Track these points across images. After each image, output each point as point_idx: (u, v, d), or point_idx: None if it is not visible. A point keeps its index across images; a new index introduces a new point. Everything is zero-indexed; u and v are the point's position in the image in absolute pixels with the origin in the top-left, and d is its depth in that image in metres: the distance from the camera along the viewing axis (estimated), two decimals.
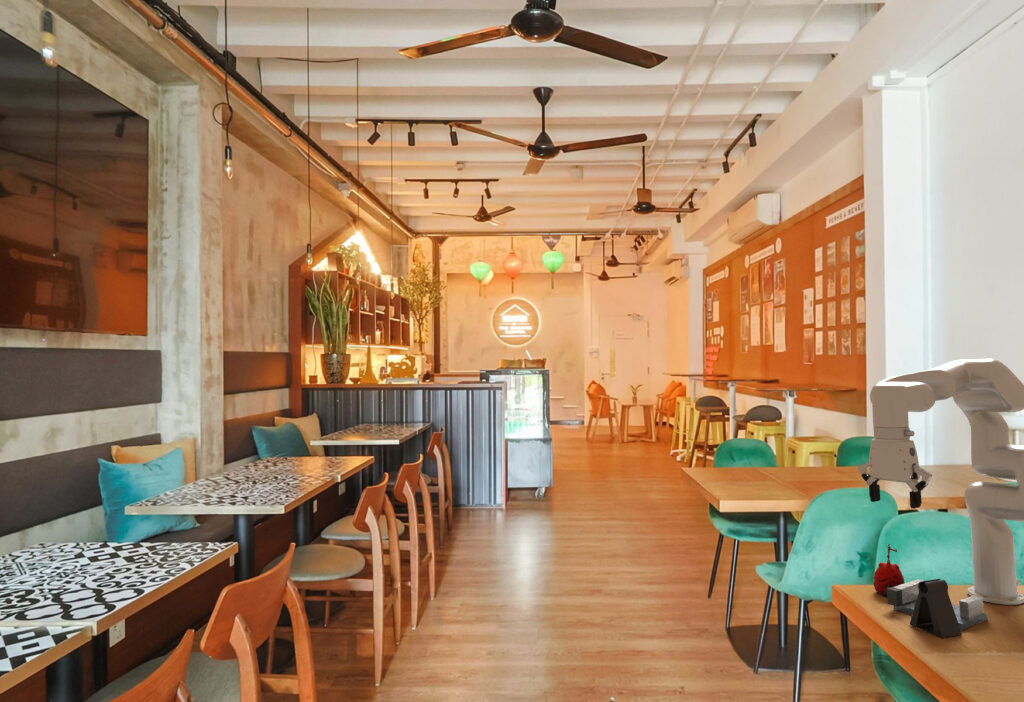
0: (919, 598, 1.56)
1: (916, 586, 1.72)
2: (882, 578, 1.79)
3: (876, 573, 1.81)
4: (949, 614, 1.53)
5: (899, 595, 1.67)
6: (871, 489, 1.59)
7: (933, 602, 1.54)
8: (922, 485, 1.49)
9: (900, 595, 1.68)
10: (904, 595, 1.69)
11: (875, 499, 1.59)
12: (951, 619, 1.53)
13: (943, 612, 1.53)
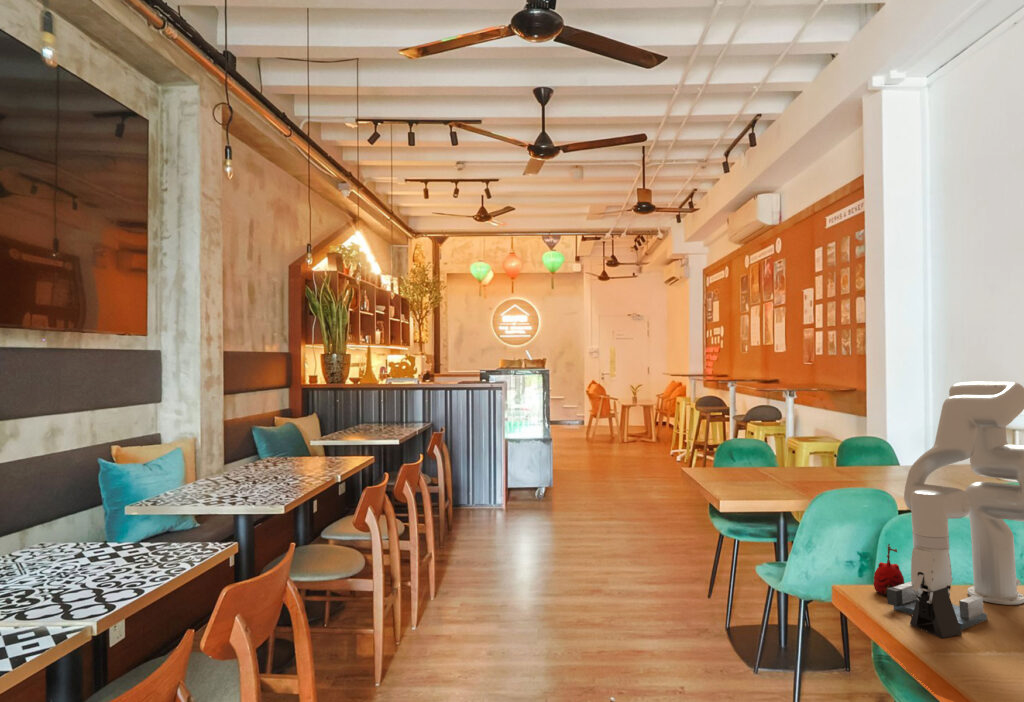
0: None
1: None
2: (882, 578, 1.79)
3: (876, 573, 1.81)
4: (949, 614, 1.53)
5: (899, 595, 1.67)
6: (933, 607, 1.53)
7: (933, 602, 1.54)
8: (949, 588, 1.58)
9: (900, 595, 1.68)
10: (904, 595, 1.69)
11: None
12: (952, 619, 1.53)
13: (943, 612, 1.53)
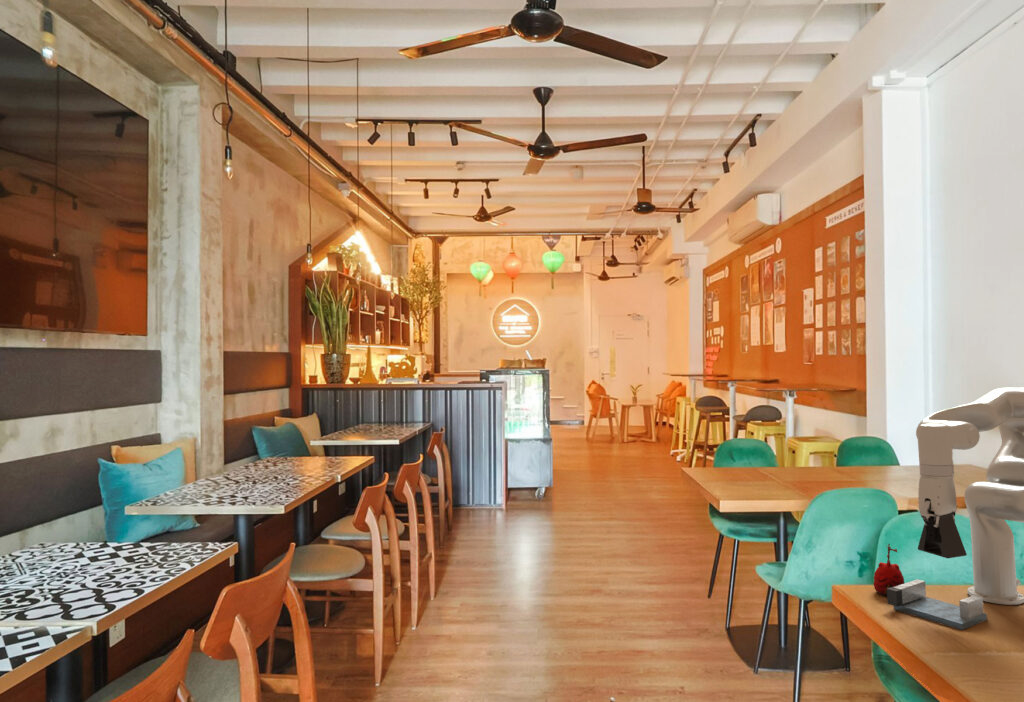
0: None
1: (916, 586, 1.72)
2: (882, 578, 1.79)
3: (876, 573, 1.81)
4: (954, 537, 1.64)
5: (899, 595, 1.67)
6: (939, 530, 1.64)
7: (939, 526, 1.64)
8: (954, 515, 1.69)
9: (900, 595, 1.68)
10: (904, 595, 1.69)
11: None
12: (957, 541, 1.64)
13: (949, 535, 1.64)
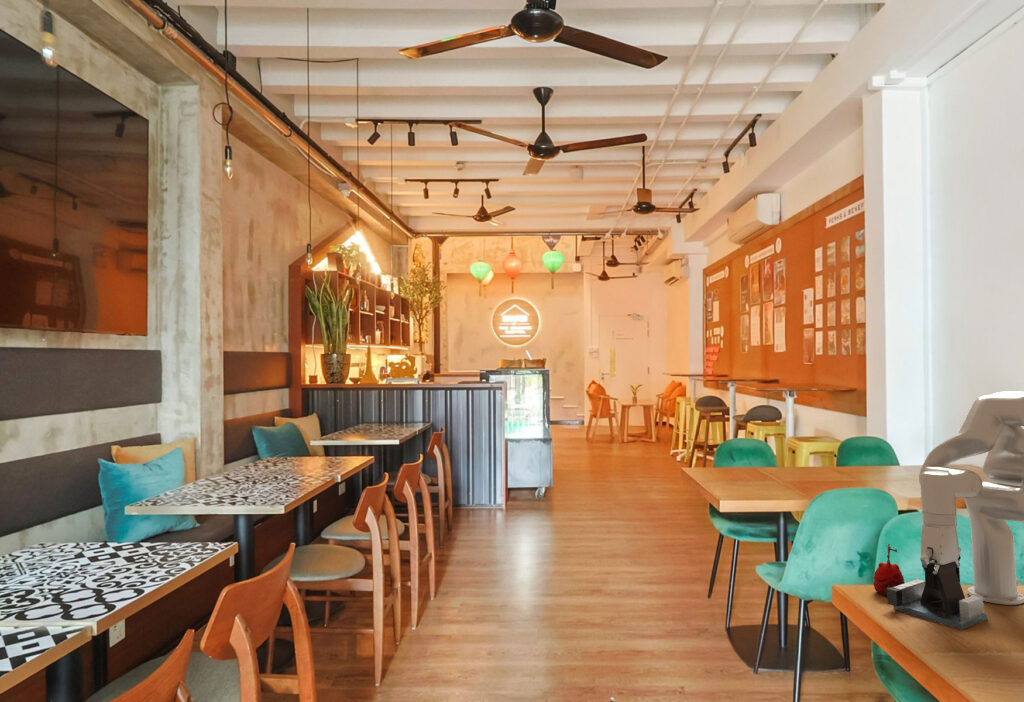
0: None
1: (916, 586, 1.72)
2: (882, 578, 1.79)
3: (876, 573, 1.81)
4: (957, 592, 1.64)
5: (899, 595, 1.67)
6: (938, 577, 1.63)
7: (943, 581, 1.64)
8: (959, 559, 1.69)
9: (900, 595, 1.68)
10: (904, 595, 1.69)
11: None
12: (960, 597, 1.63)
13: (952, 590, 1.64)
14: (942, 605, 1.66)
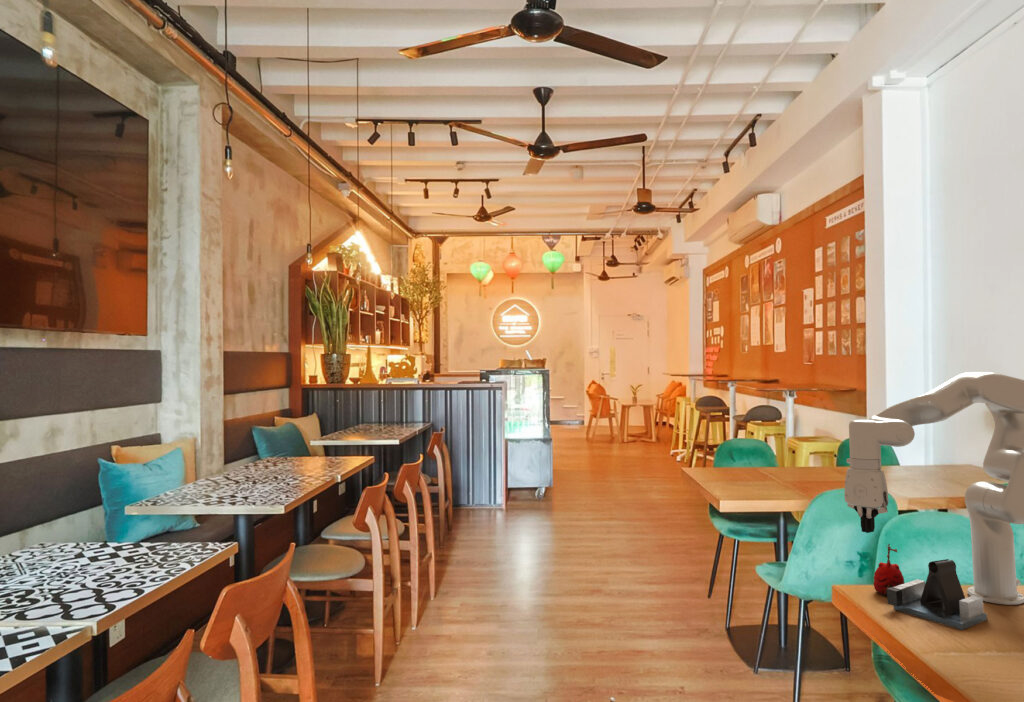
0: (929, 577, 1.67)
1: (916, 586, 1.72)
2: (882, 578, 1.79)
3: (876, 573, 1.81)
4: (957, 592, 1.64)
5: (899, 595, 1.67)
6: None
7: (943, 581, 1.64)
8: None
9: (900, 595, 1.68)
10: (904, 595, 1.69)
11: None
12: (960, 597, 1.63)
13: (952, 590, 1.64)
14: (942, 605, 1.66)
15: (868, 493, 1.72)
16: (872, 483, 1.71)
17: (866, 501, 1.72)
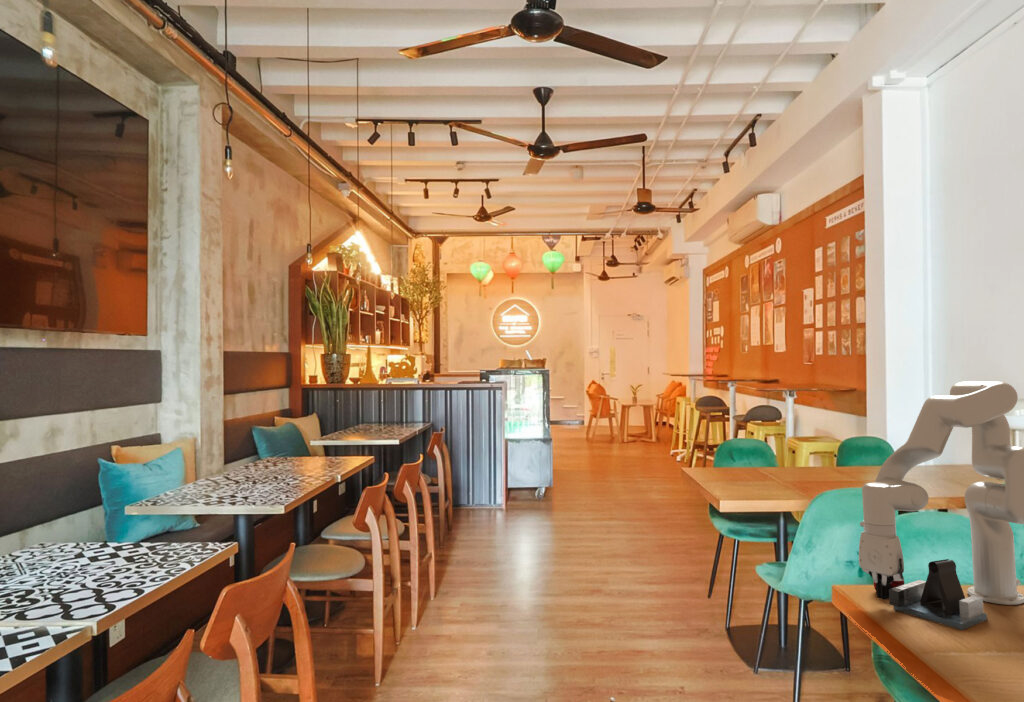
0: (929, 577, 1.67)
1: (918, 587, 1.71)
2: None
3: None
4: (957, 592, 1.64)
5: (901, 596, 1.67)
6: None
7: (943, 581, 1.64)
8: None
9: (902, 596, 1.67)
10: (906, 596, 1.68)
11: None
12: (960, 597, 1.63)
13: (952, 590, 1.64)
14: (942, 605, 1.66)
15: (883, 560, 1.68)
16: (887, 550, 1.67)
17: (881, 568, 1.69)
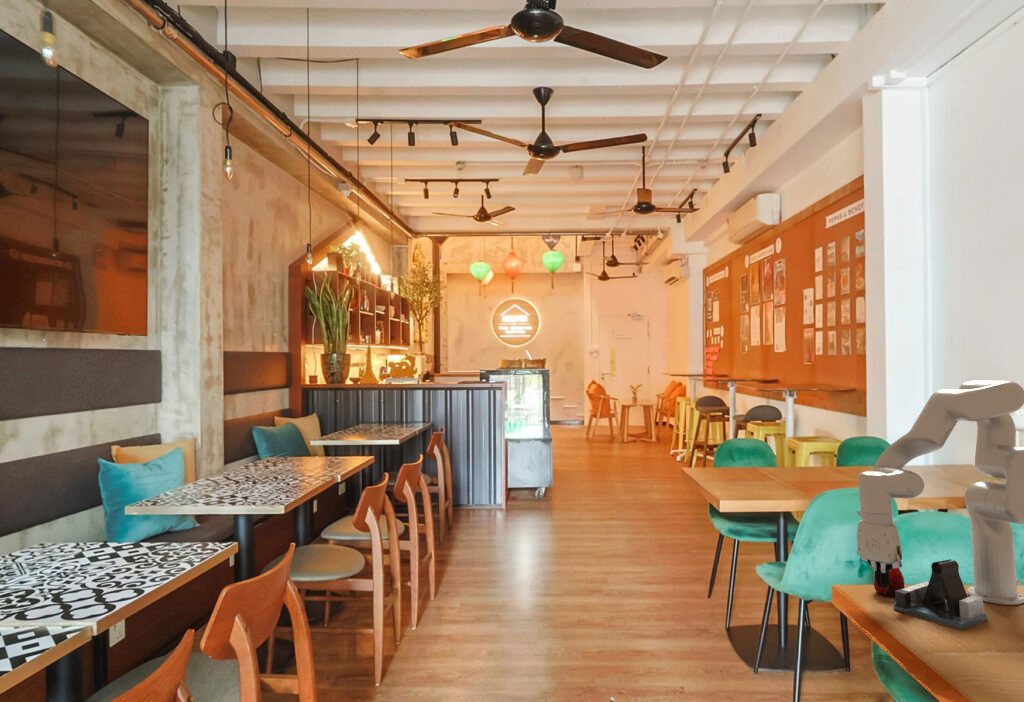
0: (932, 578, 1.66)
1: (924, 588, 1.70)
2: None
3: None
4: (960, 592, 1.63)
5: (907, 597, 1.65)
6: None
7: (946, 581, 1.63)
8: None
9: (908, 597, 1.66)
10: (913, 597, 1.67)
11: None
12: (963, 597, 1.63)
13: (955, 590, 1.63)
14: (945, 606, 1.66)
15: (881, 548, 1.69)
16: (885, 538, 1.68)
17: (879, 556, 1.69)
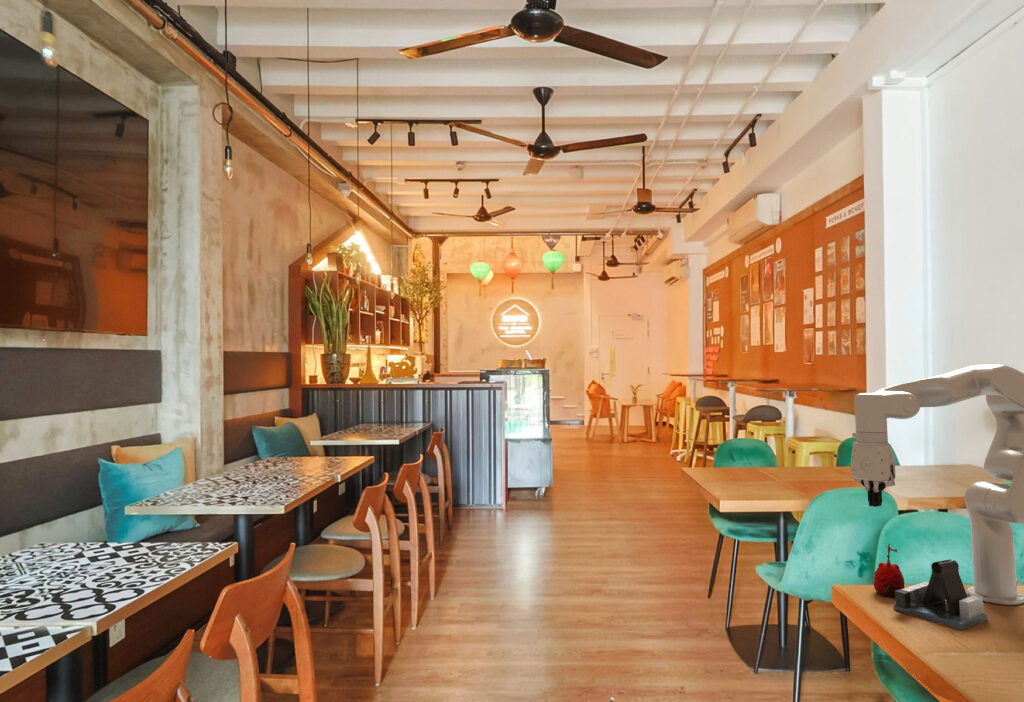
0: (932, 578, 1.66)
1: (924, 588, 1.70)
2: (882, 578, 1.79)
3: (876, 573, 1.81)
4: (960, 592, 1.63)
5: (907, 597, 1.65)
6: None
7: (946, 581, 1.63)
8: None
9: (908, 597, 1.66)
10: (913, 597, 1.67)
11: None
12: (963, 597, 1.63)
13: (955, 590, 1.63)
14: (945, 606, 1.66)
15: (875, 466, 1.70)
16: (879, 456, 1.69)
17: (873, 474, 1.70)
